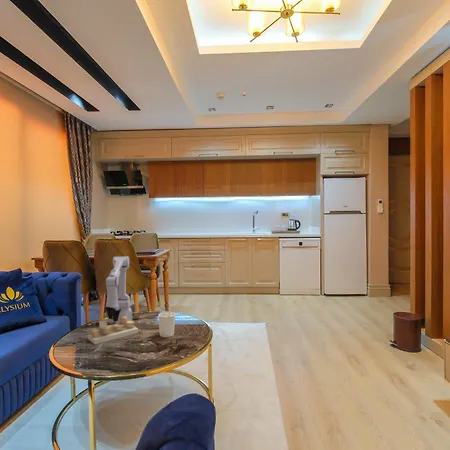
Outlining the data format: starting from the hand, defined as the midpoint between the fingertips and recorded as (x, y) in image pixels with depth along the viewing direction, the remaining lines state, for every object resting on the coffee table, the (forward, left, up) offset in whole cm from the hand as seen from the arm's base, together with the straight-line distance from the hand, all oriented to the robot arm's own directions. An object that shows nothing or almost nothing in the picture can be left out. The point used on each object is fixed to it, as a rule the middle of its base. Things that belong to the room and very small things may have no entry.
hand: (113, 319), depth 187 cm
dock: (0, +1, -9) cm, 9 cm away
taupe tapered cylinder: (+6, +1, -3) cm, 7 cm away
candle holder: (-24, +21, -10) cm, 33 cm away
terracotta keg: (-6, +1, -3) cm, 7 cm away
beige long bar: (0, +1, -7) cm, 7 cm away
